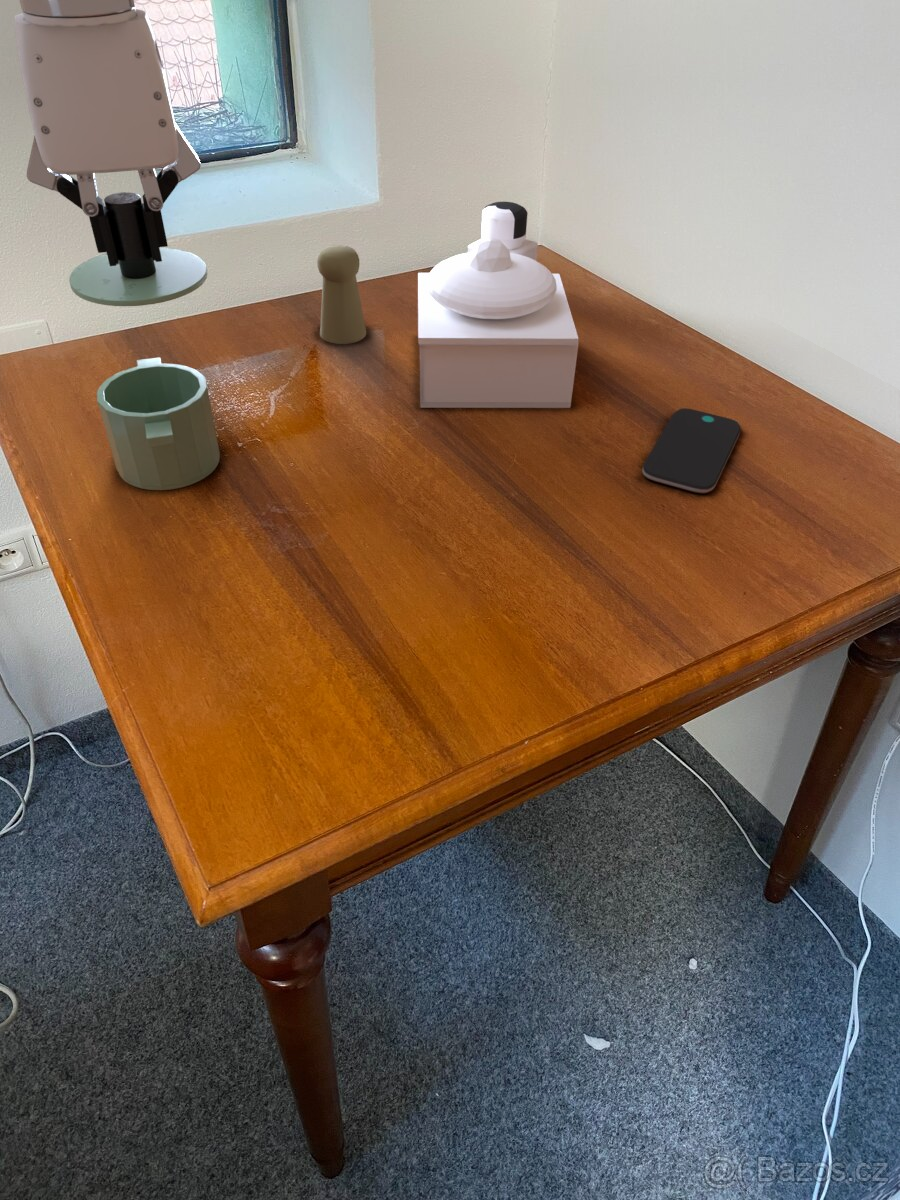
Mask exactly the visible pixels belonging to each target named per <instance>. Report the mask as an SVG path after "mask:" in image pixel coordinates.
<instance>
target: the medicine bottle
mask: <svg viewBox="0 0 900 1200" xmlns="http://www.w3.org/2000/svg"><path fill="white" fill-rule="evenodd" d="M527 225H528V211H527V208H525V207H524V206H523V205H521V204H518V203H516V202H512V201H496V202H492V203H490V204H487V205H485V206H484V208H483V209H482V211H481V228H480V229H481V232H480V238H479V239H478V240H476V241H473V242H471V243H470V244H469V245H467V248H466V249H467V252H471V251H472V250H473V248H474V247H475V246H476V245H477V244H479V243H481V242H482V241H484V240H486V239H490V240H498V241H501V242H502V243H503V244H504V246H505V247H506V248H507V249H508V250H509V251H510V253H515V254H519V255H522V256H526V257H528V258H531V259H533V260H535V261H537V259H538V247H539V243H538V242H537V241H534V240H530V239H527ZM467 252H466V253H467Z"/></svg>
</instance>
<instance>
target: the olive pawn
mask: <svg viewBox="0 0 900 1200" xmlns="http://www.w3.org/2000/svg"><path fill="white" fill-rule="evenodd" d="M316 265H317V266H316V267H317V270H318V272H319V273H320V275H321V276H322V283H321V284H322V285H321V287H322V288H321V304H320V306H321V307H320V327H319V328H320V329H319V336H320V338H321V339H322V340H324V341H325V342H327V343H331V344H336V345H348V344H353V343H357V342H360V341H361V340H363V339H364V338H365V337H366V336H367V328H366V323H365V318H364V313H363V306H362V302H361V296H360V290H359V286H358V279H357V274H359V270H360V257H359V254H358V253H357V251H356V250H355V249H354V248H352V247H351V246H349V245H346V244H332V245H327V246H325V247H323V248H322V249H321V250H320V251H319V253H318V254H317V259H316Z"/></svg>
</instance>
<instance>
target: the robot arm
mask: <svg viewBox="0 0 900 1200" xmlns="http://www.w3.org/2000/svg"><path fill="white" fill-rule="evenodd" d="M18 1H19V3H20V8H21V11H22V12H21V13H17V14H14V17H13V23H14V33H15V34H14V35H15V42H16V50H17V56H18V62H19V68H20V73H21V74H20V75H21V79H22V84H23V89H24V93H25V98H26V103H27V108H28V111H29V112H28V113H29V117H30V121H31V126H32V130H33V133H34V135H33V141H32V144H31V150H30V154H29V159H28V164H27V167H26V178H27V180H28V181H29V182H30V183H32V184H35V185H37V186H40V187H42V188H45V189H48V190H51V191H54V192H57V193H59V194H60V195H61V196H63V197H64V198H65V199H67V200H68V201H70V202H71V203H72V204H74V205H75V206H77V207H78V208H79V209H81V210H82V212H83V213H84V214H85V215H86V216H87V217H88V219H89V222H90V227H91V229H92V234H93V238H94V242H95V246H96V251H97V253H98V254H101V253H102V254H104V253H107V256H108V260H109V264H110V266H117V265H116V264H119V261H118V256H117V252H116V247H115V243H114V239H113V235H112V231H111V226H110V222H109V218H108V214H107V210H106V206H105V202H104V200H103V199H102V198H101V197H100V196H99V194H98V188H97V182H96V174H108V173H120V172H134V171H137V173H138V177H139V180H140V183H141V186H142V190H143V195H142V207H143V216H144V221H145V225H146V230H147V235H148V240H149V244H150V249H151V254H152V258H153V260H155V261H156V262H160V261H162V258H161V253H160V248H169V245H168V244H169V243H168V239H167V235H166V229H165V225H164V221H163V214H162V209H163V208H164V204H165V202H166V201H167V200H168V198H169V197H170V195H172V193H173V191H174V190H175V189H176V187H177V186H178V184H180V183H181V182H183V181H185V180H186V179H188V178H189V177H191V176H192V175H193V174H194V175H195V173H196V172H198V171H199V170H200V169H201V162H200V161H201V160H200V159H199V156H198V154H197V153H196V152H195V150H194V149H193V147H192V146H191V145H190V143H189V141H188V140H187V139H186V136H184V134H183V132H182V131H181V130H180V128H179V126H178V125H177V123H176V122H175V116H174V111H173V106H172V102H171V96H170V91H169V87H168V83H167V80H166V74H165V70H164V65H163V62H162V59H161V58H162V57H161V55H160V51H159V47H158V43H157V40H156V37H155V34H154V30H153V28H152V25H151V21H150V19H149V17H148V14H147V12H146V11H145V10H143V9H138V8H136V6H135V0H18ZM157 169H161V170H160V171H159V172H158V174H157V173H156V170H157ZM73 175H76V178H74V177H73Z"/></svg>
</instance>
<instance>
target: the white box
mask: <svg viewBox="0 0 900 1200" xmlns="http://www.w3.org/2000/svg"><path fill="white" fill-rule="evenodd" d="M579 342H580V341H579V335H578V331H577V329H576V326H575V321H574V319H573V316H572V313H571V309H570V306H569V302H568V298H567V295H566V291H565V288H564V285H563V281H562V278H561V275H560V273H552V272H551V271H550V270H549V268H547V267H546V266H545V265H543V264H542V263H541V262H538V261H537V260H536V261H535V260H533V259H531V258H528V257H526V256H522V255H519V254H515V253H510V251H509V250H508V249H507V248H506V247H505V246H504V244H503V243H502V242H501V241H498V240H490V239H486V240H484V241H482V242H481V243H479V244H477V245H476V246H475V247H474V248H473V250H472V251H471V252H463V253H458V254H455V255H452V256H450V257H448V258H445V259H444V260H442V261H440V262H438V263H437V264H436V265H435V266H434V267H433V268H432V269H431V270H430V272H418V273H417V344H418V345H419V408H423V409H428V408H429V409H432V408H433V409H470V408H471V409H510V408H511V409H571V406H572V398H573V390H574V384H575V383H574V382H575V373H576V367H577V358H578V351H579V344H580V343H579Z"/></svg>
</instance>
